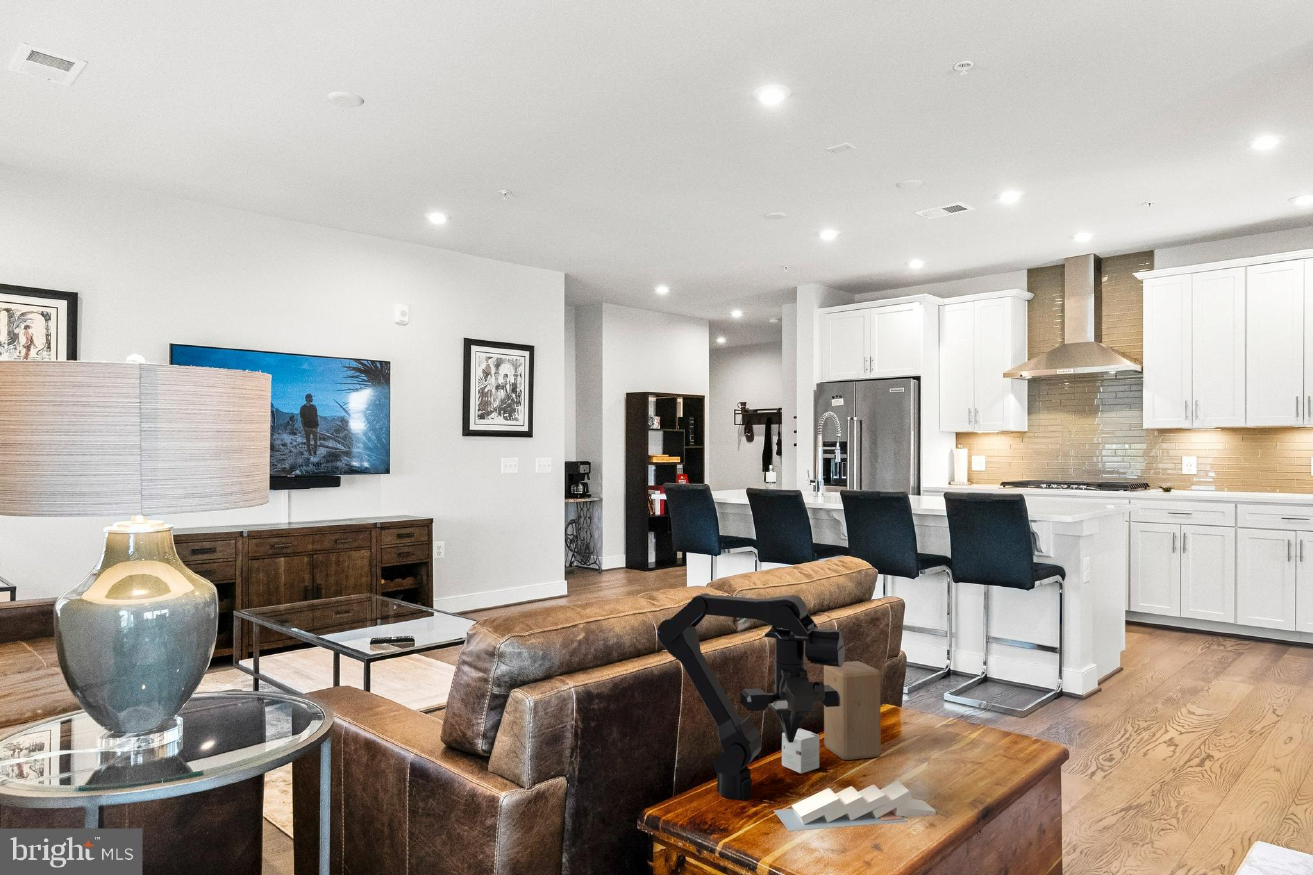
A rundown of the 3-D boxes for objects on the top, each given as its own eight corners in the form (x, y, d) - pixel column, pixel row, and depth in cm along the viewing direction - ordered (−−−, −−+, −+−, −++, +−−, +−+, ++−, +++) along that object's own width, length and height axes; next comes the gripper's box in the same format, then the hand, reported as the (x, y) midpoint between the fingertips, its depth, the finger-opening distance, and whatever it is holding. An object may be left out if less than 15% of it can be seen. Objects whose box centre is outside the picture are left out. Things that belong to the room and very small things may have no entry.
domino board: (789, 836, 148) (789, 829, 148) (773, 815, 156) (773, 809, 156) (907, 826, 152) (907, 820, 152) (885, 806, 160) (885, 800, 161)
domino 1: (800, 816, 150) (839, 798, 152) (791, 805, 155) (829, 787, 156) (803, 824, 150) (842, 806, 152) (794, 813, 155) (831, 795, 157)
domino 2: (824, 814, 151) (862, 796, 152) (814, 803, 156) (851, 785, 157) (827, 822, 151) (865, 804, 152) (817, 811, 156) (854, 793, 157)
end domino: (897, 806, 153) (936, 811, 155) (885, 796, 158) (923, 800, 160) (896, 815, 153) (934, 819, 155) (884, 804, 158) (921, 808, 160)
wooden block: (843, 762, 184) (842, 672, 185) (822, 747, 194) (822, 662, 195) (882, 757, 187) (881, 669, 188) (860, 743, 197) (859, 659, 197)
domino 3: (847, 812, 152) (885, 794, 153) (837, 801, 157) (873, 784, 158) (850, 820, 152) (888, 802, 153) (839, 809, 157) (876, 791, 158)
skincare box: (781, 765, 182) (781, 732, 182) (800, 759, 186) (799, 727, 186) (801, 774, 177) (801, 739, 178) (820, 767, 181) (820, 734, 181)
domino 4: (872, 811, 153) (909, 790, 154) (861, 800, 158) (897, 780, 159) (876, 818, 153) (912, 798, 154) (864, 807, 158) (900, 787, 159)
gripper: (756, 674, 150) (756, 759, 150) (851, 669, 154) (852, 753, 153) (739, 659, 161) (739, 739, 161) (828, 655, 165) (829, 734, 164)
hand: (790, 742), depth 159 cm, fingers closed
